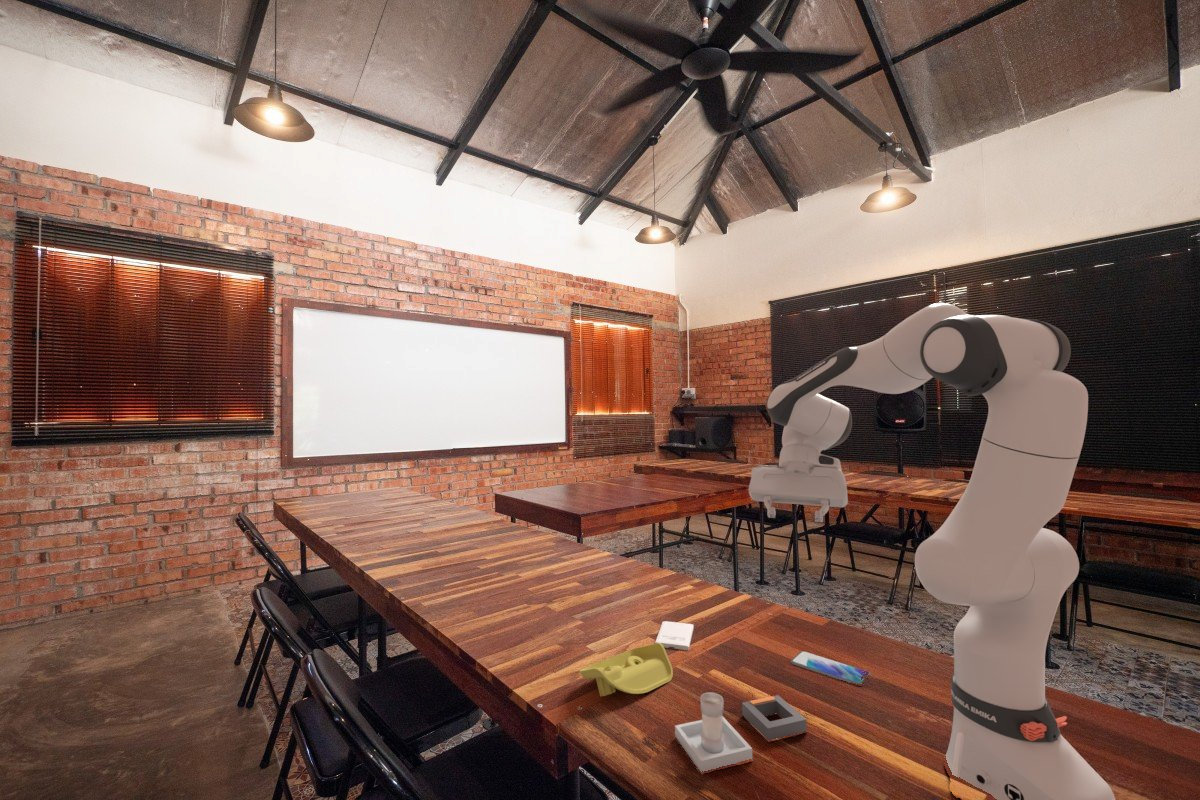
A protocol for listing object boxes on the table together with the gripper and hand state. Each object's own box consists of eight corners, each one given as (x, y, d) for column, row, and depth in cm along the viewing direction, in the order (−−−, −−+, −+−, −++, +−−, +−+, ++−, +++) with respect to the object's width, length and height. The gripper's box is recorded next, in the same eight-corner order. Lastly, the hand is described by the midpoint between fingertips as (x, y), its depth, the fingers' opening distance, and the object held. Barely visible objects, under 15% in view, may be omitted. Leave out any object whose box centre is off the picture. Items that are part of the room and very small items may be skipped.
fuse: (728, 750, 86) (727, 702, 86) (708, 755, 84) (707, 707, 84) (716, 736, 89) (716, 690, 89) (697, 741, 88) (696, 694, 88)
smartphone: (801, 650, 121) (871, 671, 111) (801, 653, 121) (871, 675, 110) (789, 660, 115) (861, 684, 105) (789, 664, 115) (861, 689, 105)
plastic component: (634, 648, 119) (665, 641, 112) (644, 682, 116) (676, 677, 110) (570, 673, 105) (601, 667, 99) (579, 713, 102) (611, 709, 96)
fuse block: (806, 733, 91) (806, 718, 91) (768, 742, 88) (767, 727, 88) (778, 708, 98) (778, 694, 98) (742, 716, 96) (741, 701, 96)
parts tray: (752, 761, 84) (752, 748, 84) (701, 774, 81) (700, 760, 81) (722, 727, 93) (722, 715, 93) (675, 738, 90) (674, 725, 90)
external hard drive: (693, 630, 134) (688, 652, 122) (662, 626, 136) (654, 648, 124) (693, 624, 134) (688, 645, 122) (662, 620, 136) (654, 641, 124)
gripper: (750, 456, 119) (741, 505, 111) (847, 459, 110) (846, 514, 101) (754, 473, 123) (746, 522, 115) (848, 477, 114) (847, 531, 105)
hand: (794, 518), depth 108 cm, fingers open, 8 cm apart
